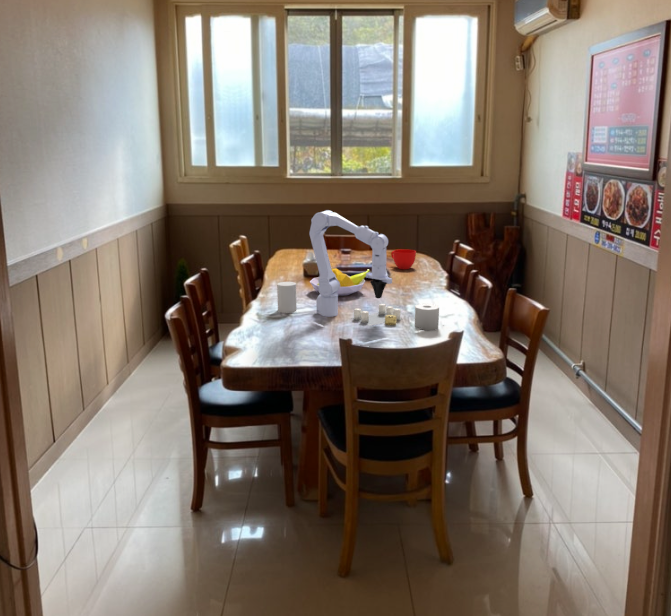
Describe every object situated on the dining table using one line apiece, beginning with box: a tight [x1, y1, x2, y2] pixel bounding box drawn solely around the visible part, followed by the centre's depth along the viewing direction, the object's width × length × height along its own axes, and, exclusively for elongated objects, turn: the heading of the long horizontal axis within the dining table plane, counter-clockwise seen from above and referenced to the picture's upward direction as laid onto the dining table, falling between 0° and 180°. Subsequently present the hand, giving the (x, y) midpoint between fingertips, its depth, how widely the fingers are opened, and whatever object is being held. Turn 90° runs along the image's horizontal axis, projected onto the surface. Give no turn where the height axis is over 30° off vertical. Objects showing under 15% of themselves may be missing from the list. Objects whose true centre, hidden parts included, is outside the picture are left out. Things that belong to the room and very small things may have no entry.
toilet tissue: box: [414, 303, 440, 332], centre depth 257 cm, size 9×13×9 cm
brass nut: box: [384, 315, 397, 326], centre depth 259 cm, size 5×5×3 cm
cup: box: [276, 281, 298, 314], centre depth 280 cm, size 8×8×12 cm
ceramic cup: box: [390, 248, 417, 270], centre depth 372 cm, size 13×17×10 cm
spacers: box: [353, 303, 401, 324], centre depth 265 cm, size 12×16×4 cm
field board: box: [350, 312, 402, 327], centre depth 266 cm, size 13×17×1 cm
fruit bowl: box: [309, 267, 371, 297], centre depth 312 cm, size 28×27×11 cm
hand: (378, 297), depth 263 cm, fingers closed
